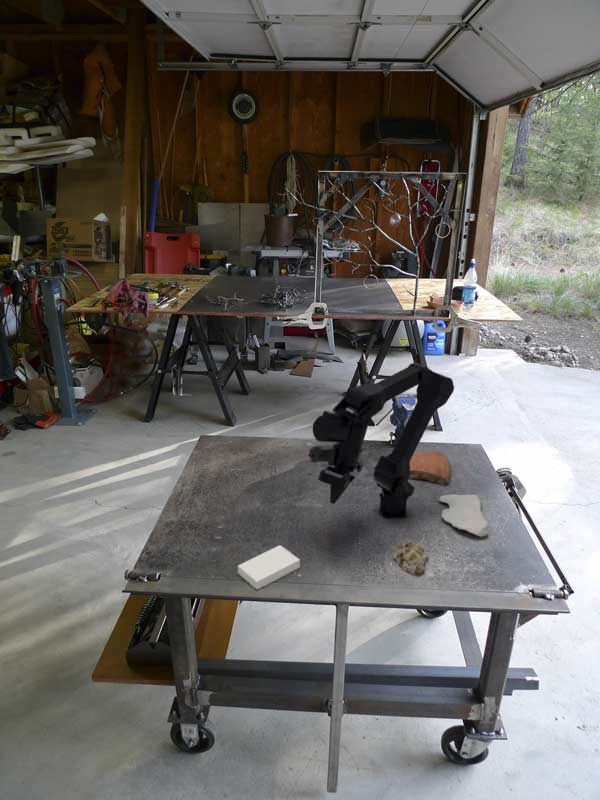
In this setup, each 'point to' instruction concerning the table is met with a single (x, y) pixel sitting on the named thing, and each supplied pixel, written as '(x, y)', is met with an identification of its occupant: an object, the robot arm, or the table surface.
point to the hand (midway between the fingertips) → (332, 502)
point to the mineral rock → (411, 557)
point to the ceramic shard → (430, 467)
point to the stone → (465, 513)
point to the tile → (268, 567)
